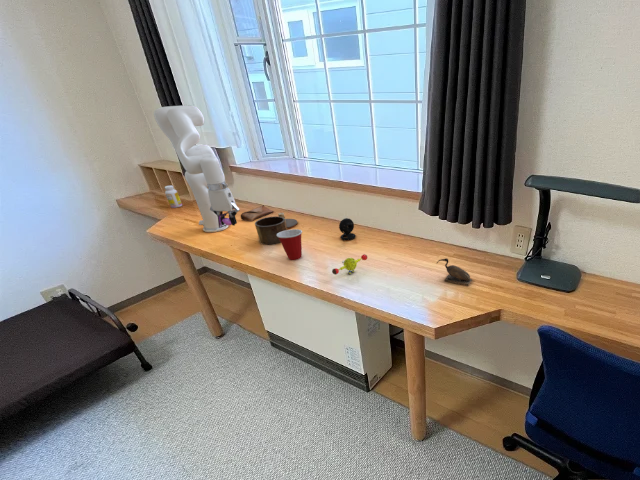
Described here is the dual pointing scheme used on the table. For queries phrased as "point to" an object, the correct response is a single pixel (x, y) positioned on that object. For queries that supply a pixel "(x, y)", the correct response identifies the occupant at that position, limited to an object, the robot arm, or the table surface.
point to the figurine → (456, 274)
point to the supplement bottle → (173, 197)
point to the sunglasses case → (255, 213)
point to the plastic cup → (291, 243)
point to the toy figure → (349, 264)
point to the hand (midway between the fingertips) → (229, 223)
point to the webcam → (347, 229)
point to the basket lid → (288, 221)
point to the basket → (270, 229)
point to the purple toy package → (224, 220)
